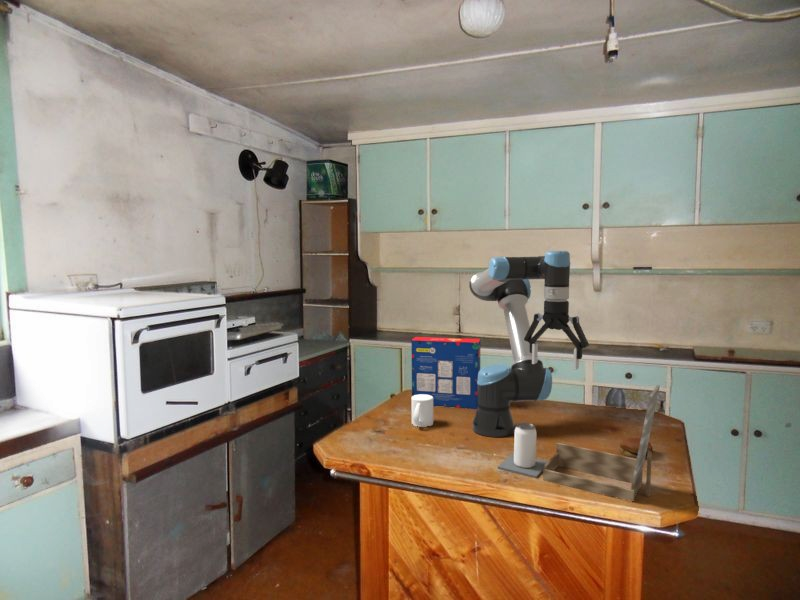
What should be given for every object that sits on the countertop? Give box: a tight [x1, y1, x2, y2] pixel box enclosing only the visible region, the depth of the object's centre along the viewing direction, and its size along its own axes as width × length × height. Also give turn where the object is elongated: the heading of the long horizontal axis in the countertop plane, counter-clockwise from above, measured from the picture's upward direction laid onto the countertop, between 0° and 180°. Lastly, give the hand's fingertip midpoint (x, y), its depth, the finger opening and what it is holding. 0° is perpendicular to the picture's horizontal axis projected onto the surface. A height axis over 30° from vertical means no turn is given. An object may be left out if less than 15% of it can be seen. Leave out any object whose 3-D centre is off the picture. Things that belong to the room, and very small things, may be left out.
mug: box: [410, 394, 434, 428], centre depth 196 cm, size 8×10×12 cm
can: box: [513, 422, 537, 468], centre depth 158 cm, size 6×6×12 cm
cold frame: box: [542, 384, 661, 502], centre depth 145 cm, size 28×12×29 cm, turn 55°
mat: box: [497, 453, 549, 479], centre depth 159 cm, size 12×12×1 cm
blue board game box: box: [411, 336, 481, 410], centre depth 220 cm, size 28×8×28 cm, turn 76°
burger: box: [618, 437, 654, 459], centre depth 167 cm, size 10×9×5 cm
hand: (554, 366), depth 167 cm, fingers open, 13 cm apart
